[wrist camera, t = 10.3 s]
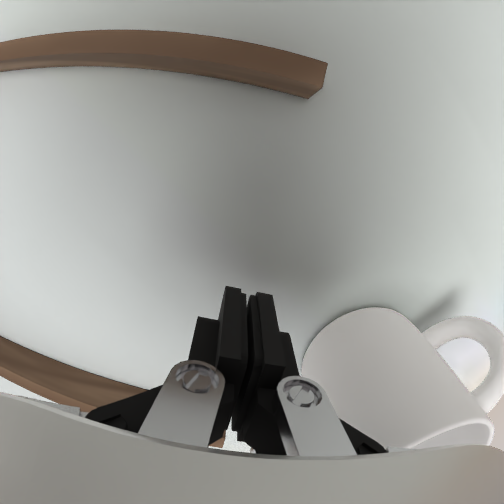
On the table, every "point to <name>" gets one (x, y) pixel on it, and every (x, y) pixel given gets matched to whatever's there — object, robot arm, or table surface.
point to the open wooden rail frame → (146, 57)
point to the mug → (405, 378)
